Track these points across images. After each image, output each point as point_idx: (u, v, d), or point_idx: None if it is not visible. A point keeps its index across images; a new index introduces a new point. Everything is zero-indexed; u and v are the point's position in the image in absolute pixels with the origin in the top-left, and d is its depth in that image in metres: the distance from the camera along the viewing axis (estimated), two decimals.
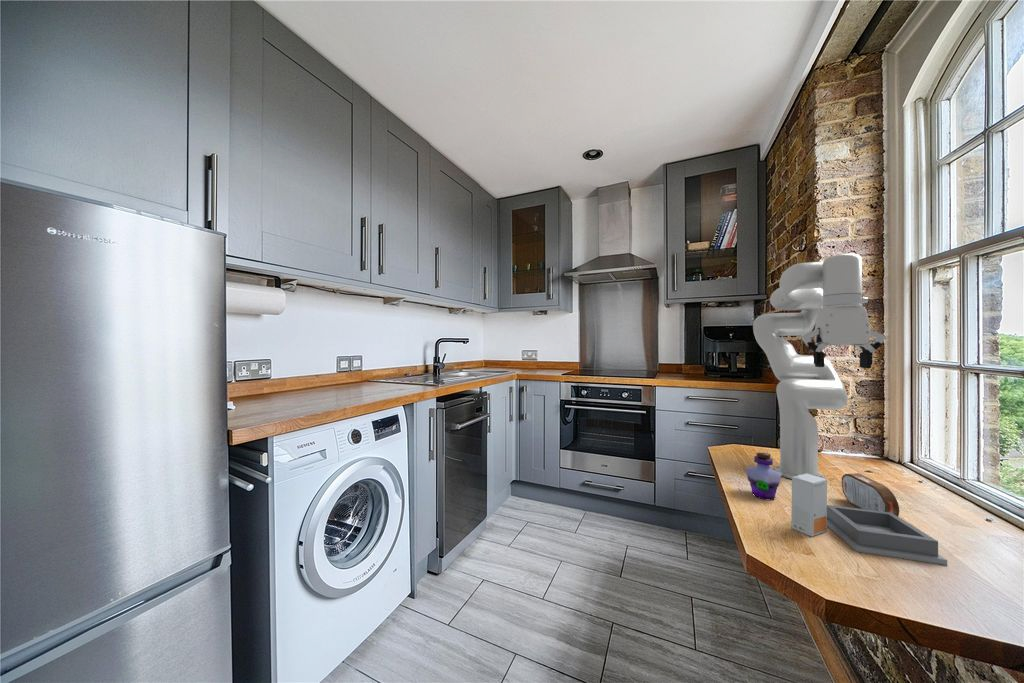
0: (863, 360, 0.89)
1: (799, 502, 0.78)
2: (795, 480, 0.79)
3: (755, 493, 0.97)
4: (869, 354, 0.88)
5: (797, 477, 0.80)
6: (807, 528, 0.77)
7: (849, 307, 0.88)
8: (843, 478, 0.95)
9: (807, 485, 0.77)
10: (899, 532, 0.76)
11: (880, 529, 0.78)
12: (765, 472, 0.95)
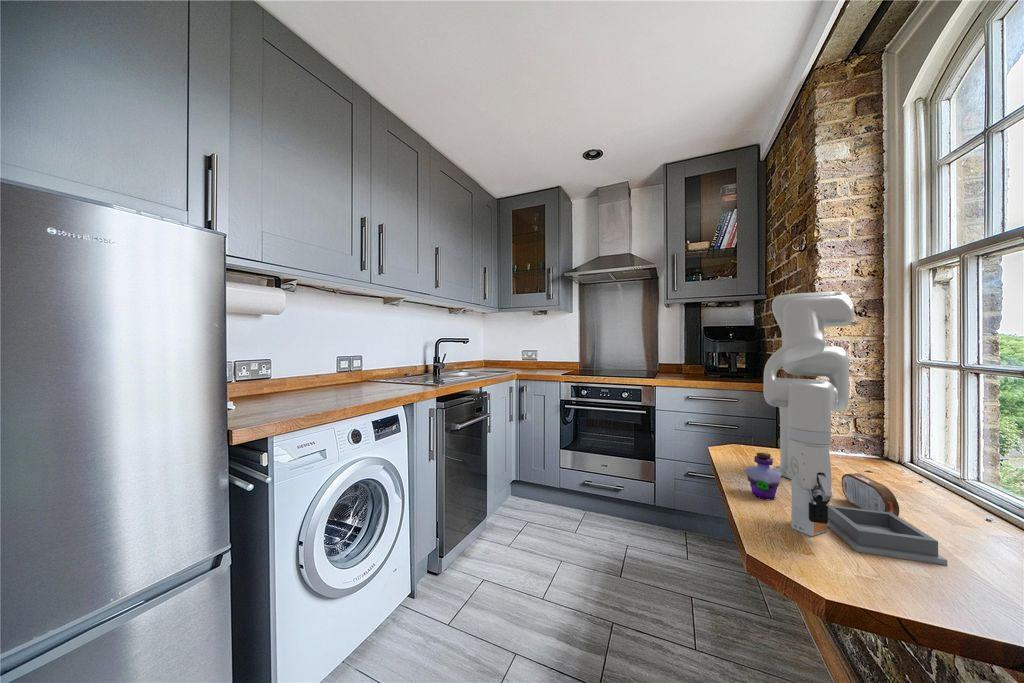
0: None
1: (799, 502, 0.78)
2: (795, 480, 0.79)
3: (755, 493, 0.97)
4: None
5: None
6: (807, 528, 0.77)
7: None
8: (843, 478, 0.95)
9: None
10: (899, 532, 0.76)
11: (880, 529, 0.78)
12: (765, 472, 0.95)
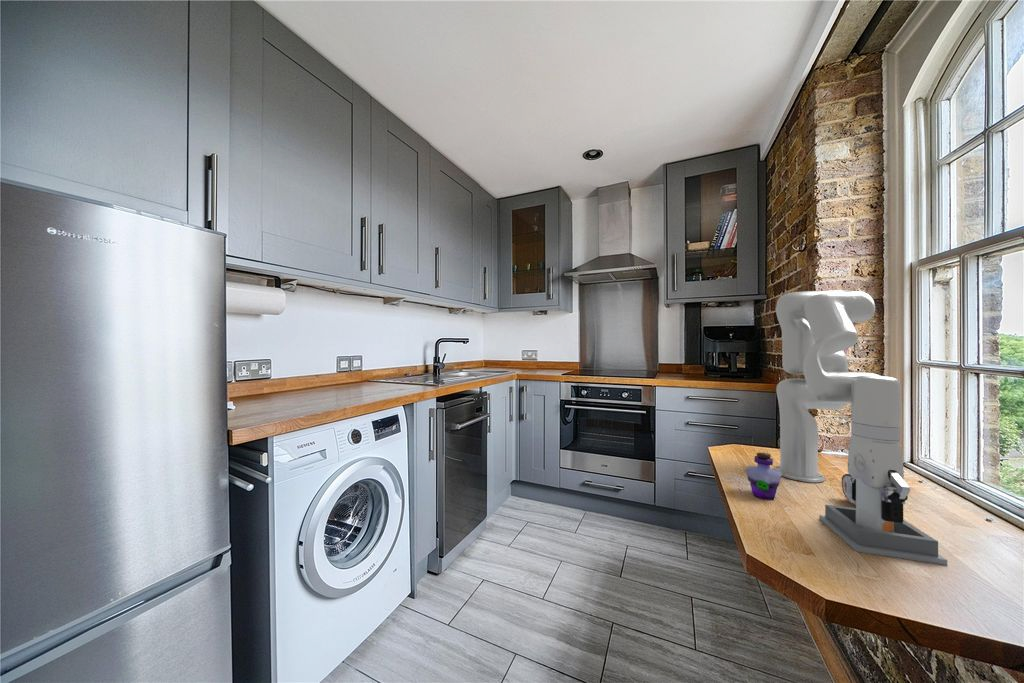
0: None
1: (865, 505, 0.75)
2: (860, 482, 0.76)
3: (755, 493, 0.97)
4: None
5: None
6: None
7: None
8: (843, 478, 0.95)
9: None
10: (899, 532, 0.76)
11: None
12: (765, 472, 0.95)
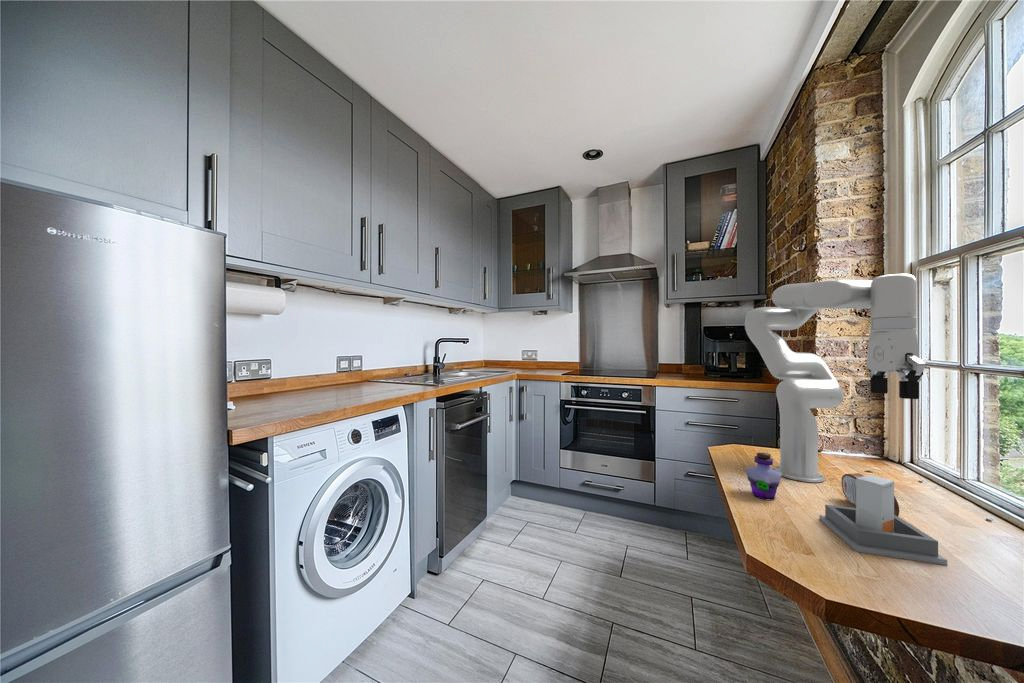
0: (880, 385, 0.88)
1: (865, 505, 0.75)
2: (860, 482, 0.76)
3: (755, 493, 0.97)
4: None
5: (862, 479, 0.76)
6: None
7: None
8: (843, 478, 0.95)
9: (874, 487, 0.74)
10: (899, 532, 0.76)
11: None
12: (765, 472, 0.95)
